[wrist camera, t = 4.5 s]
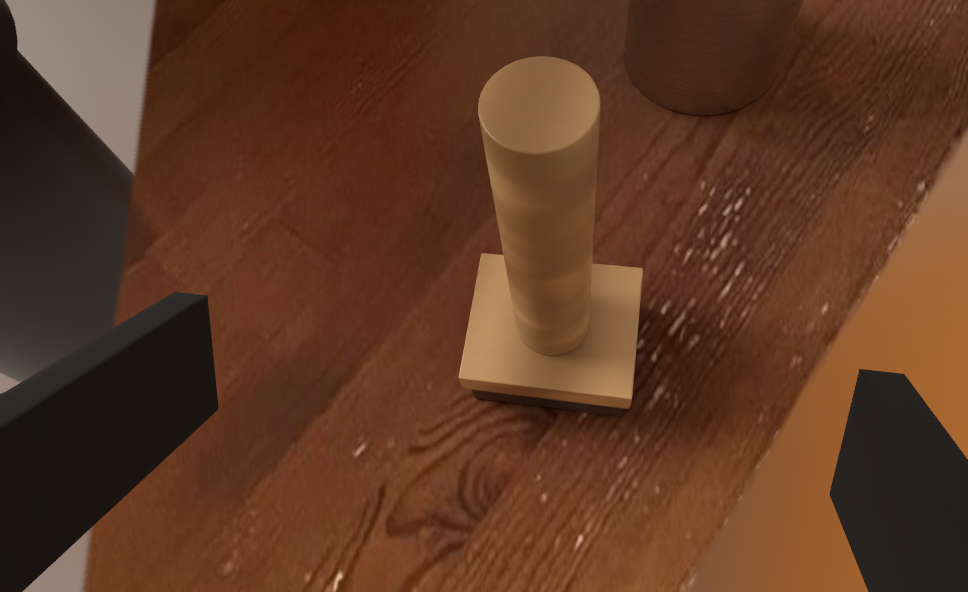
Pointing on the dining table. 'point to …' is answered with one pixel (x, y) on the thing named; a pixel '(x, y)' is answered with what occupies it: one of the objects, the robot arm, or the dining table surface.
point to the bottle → (707, 51)
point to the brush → (548, 252)
